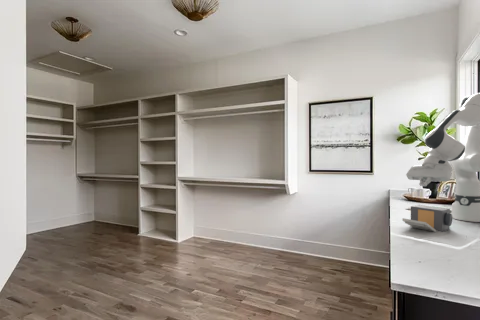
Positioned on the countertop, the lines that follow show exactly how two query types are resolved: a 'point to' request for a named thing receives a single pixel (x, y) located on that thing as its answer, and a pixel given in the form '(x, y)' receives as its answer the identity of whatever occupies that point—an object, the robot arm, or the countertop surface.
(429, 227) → the camera door
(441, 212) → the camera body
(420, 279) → the countertop surface
